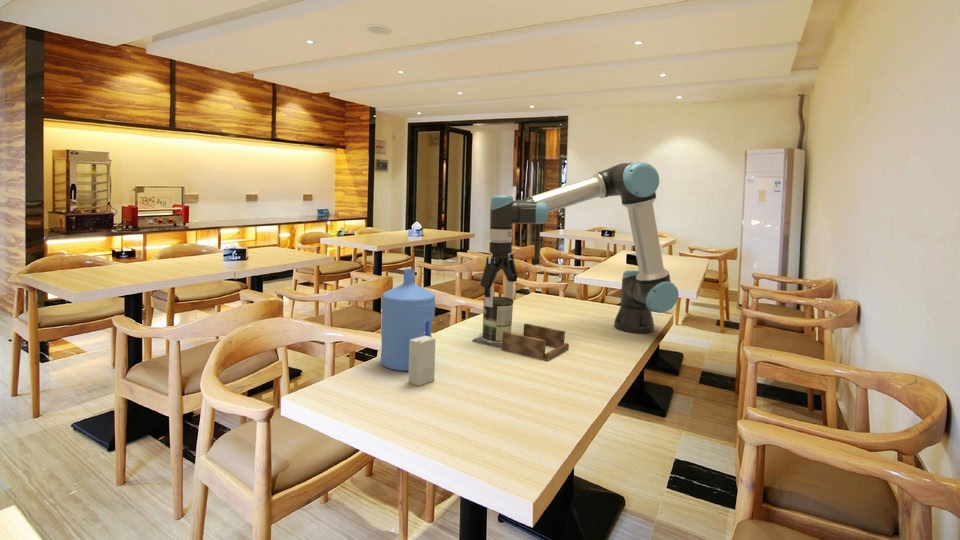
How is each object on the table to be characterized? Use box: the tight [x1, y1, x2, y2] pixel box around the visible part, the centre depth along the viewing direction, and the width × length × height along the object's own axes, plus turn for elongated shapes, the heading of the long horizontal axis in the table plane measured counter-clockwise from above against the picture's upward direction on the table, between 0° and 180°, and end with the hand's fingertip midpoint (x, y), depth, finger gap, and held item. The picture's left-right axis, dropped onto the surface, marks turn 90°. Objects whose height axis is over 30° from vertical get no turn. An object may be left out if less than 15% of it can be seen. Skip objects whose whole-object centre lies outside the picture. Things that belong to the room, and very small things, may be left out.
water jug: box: [380, 268, 436, 372], centre depth 153 cm, size 16×16×28 cm
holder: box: [501, 323, 570, 362], centre depth 172 cm, size 17×15×6 cm
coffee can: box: [481, 296, 514, 344], centre depth 180 cm, size 10×10×14 cm
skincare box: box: [407, 336, 436, 387], centre depth 140 cm, size 6×4×12 cm
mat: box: [472, 335, 502, 349], centre depth 181 cm, size 12×12×1 cm
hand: (499, 303), depth 179 cm, fingers open, 13 cm apart
